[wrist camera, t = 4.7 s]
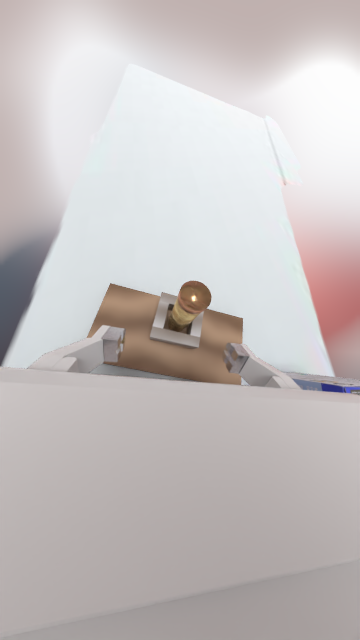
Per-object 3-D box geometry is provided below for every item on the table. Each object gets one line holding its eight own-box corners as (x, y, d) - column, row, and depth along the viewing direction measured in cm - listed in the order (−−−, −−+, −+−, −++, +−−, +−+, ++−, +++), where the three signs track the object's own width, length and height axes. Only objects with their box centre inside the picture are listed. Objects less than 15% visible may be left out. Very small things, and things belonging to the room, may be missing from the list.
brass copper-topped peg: (184, 334, 21) (209, 314, 12) (165, 330, 21) (176, 305, 12) (187, 317, 22) (212, 285, 13) (169, 312, 22) (182, 277, 13)
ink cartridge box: (254, 408, 22) (423, 485, 8) (249, 371, 23) (383, 386, 10) (302, 405, 23) (508, 466, 10) (295, 372, 25) (462, 385, 12)
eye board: (235, 387, 22) (252, 392, 18) (83, 358, 19) (66, 358, 15) (237, 320, 26) (252, 314, 22) (112, 288, 23) (105, 273, 19)
